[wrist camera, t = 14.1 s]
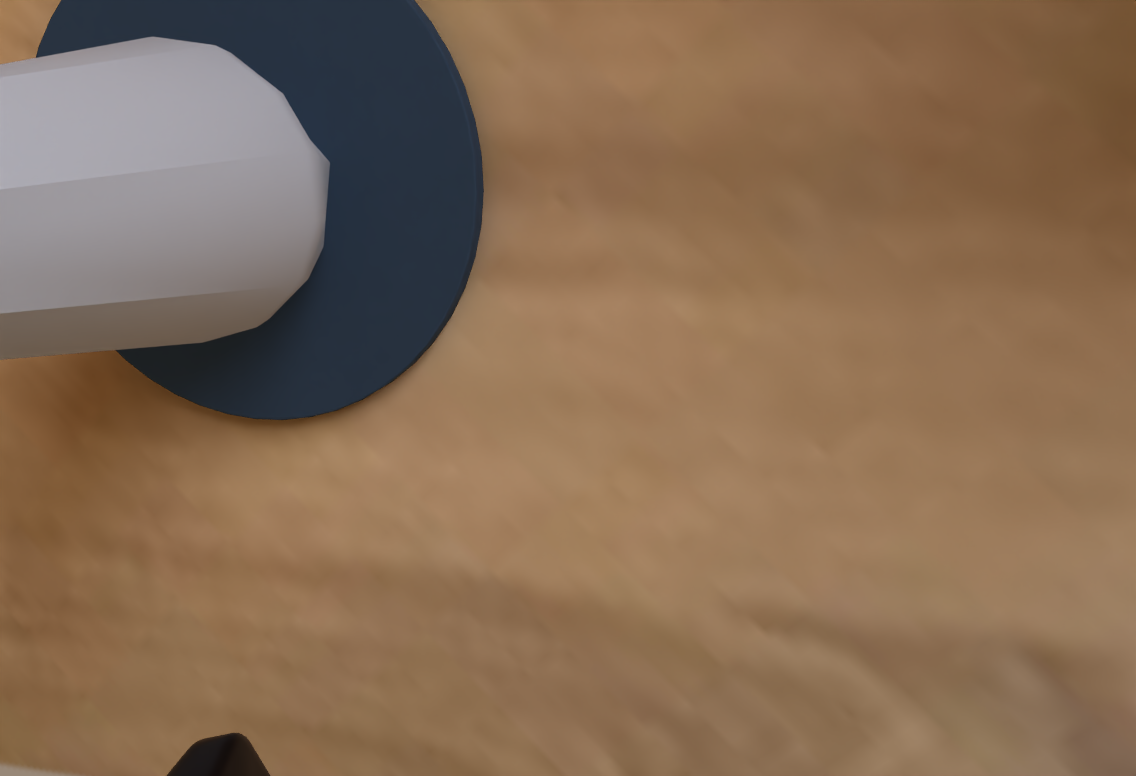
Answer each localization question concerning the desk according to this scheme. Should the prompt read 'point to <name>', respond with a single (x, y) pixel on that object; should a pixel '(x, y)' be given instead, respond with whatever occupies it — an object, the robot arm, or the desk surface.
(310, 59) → the coaster
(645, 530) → the desk surface
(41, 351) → the salt shaker
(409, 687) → the desk surface
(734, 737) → the desk surface
